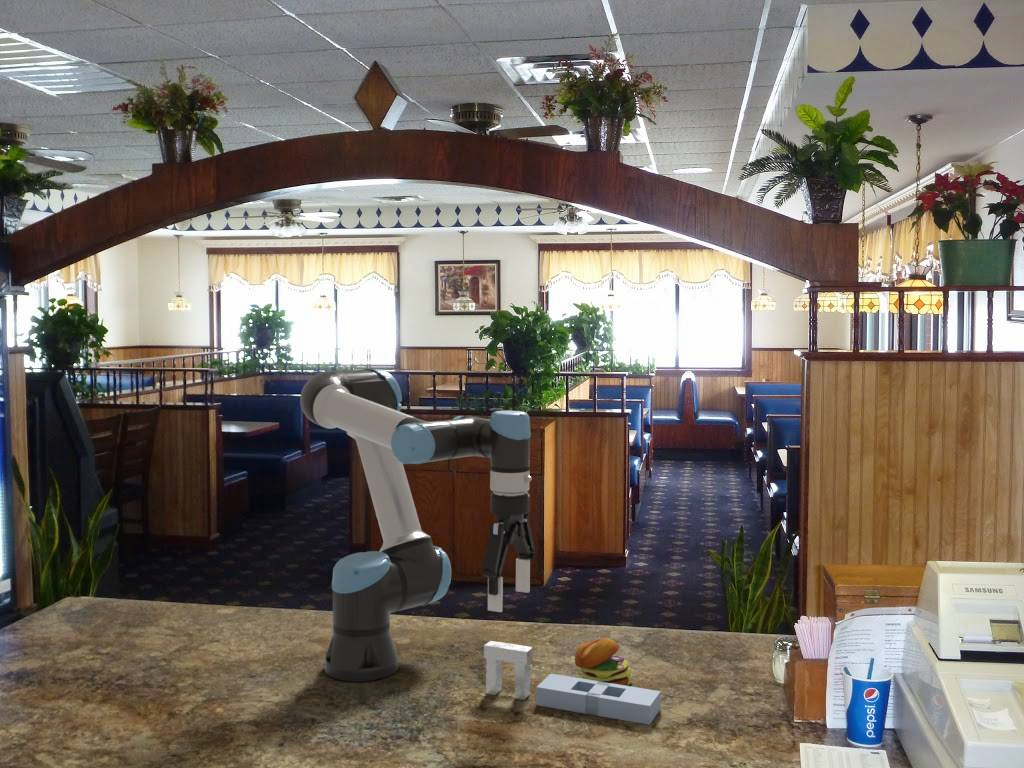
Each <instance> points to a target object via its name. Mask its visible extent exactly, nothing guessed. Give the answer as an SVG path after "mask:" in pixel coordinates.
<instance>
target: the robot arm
mask: <svg viewBox="0 0 1024 768" xmlns="http://www.w3.org/2000/svg"><path fill="white" fill-rule="evenodd" d="M402 399H403V396H402V391H401V387H400V386H399V383H398V382H397V380H396V379H395V377H394V376H393V375H392V374H391V373H390V372H388V371H386V370H384V369H380V368H377V369H376V368H375V369H374V368H369V367H366V368H363V369H361V368H360V369H348V370H347V369H346V370H327V371H326V370H325V371H322V372H320V373H317V374H315V375H314V376H312V377H311V378H310V379H308V381H307V382H305V384H304V386H302V390H301V393H300V398H299V400H300V401H299V402H300V408H301V410H302V412H303V414H304V415H305V418H307V419H308V420H309V421H310V422H312V423H313V424H316V425H318V426H319V427H322V428H325V429H330V430H331V429H336V428H338V429H340V430H342V431H345V433H346V435H348V436H349V437H351V438H352V439H354V440H355V443H356V446H357V449H358V454H359V456H360V459H361V463H362V467H363V471H364V475H365V479H366V482H367V485H368V489H369V494H370V497H371V501H372V505H373V508H374V511H375V516H376V519H377V522H378V526H379V529H380V534H381V537H382V540H383V541H382V542H383V543H382V545H381V548H380V549H379V551H377V550H376V551H375V550H370V551H366V552H363V551H362V552H355V553H352V554H348V555H347V556H344V557H342V558H341V559H339V560H338V561H337V562H336V563H335V564H334V567H333V569H332V580H331V589H332V635H331V639H330V642H329V645H328V647H327V651H326V654H325V658H324V672H325V674H326V675H327V676H328V677H330V678H333V679H334V680H335V679H336V680H340V681H345V682H371V681H376V680H380V679H383V678H387V677H389V676H391V675H393V674H395V673H396V672H397V671H398V669H399V655H398V652H397V649H396V645H395V642H394V639H393V635H392V634H391V618H390V617H391V616H390V615H391V614H393V613H397V612H401V611H405V610H408V609H412V608H416V607H419V606H421V607H422V606H423V607H424V606H426V605H429V604H431V603H434V602H437V601H439V600H441V599H442V598H443V597H444V596H445V595H446V594H447V592H448V590H449V588H450V584H451V579H452V567H451V561H450V559H449V556H448V554H447V553H446V552H445V551H444V550H443V549H442V547H439V546H436V545H434V544H433V543H434V542H433V540H432V537H431V535H428V533H426V532H424V531H423V530H422V526H421V523H420V521H419V516H418V513H417V512H418V511H417V508H416V506H415V502H414V498H413V495H412V491H411V487H410V483H409V481H408V478H407V477H408V476H407V473H406V470H405V467H404V465H412V464H413V465H421V464H425V463H431V462H438V461H446V460H453V459H461V458H467V457H480V458H487V459H490V470H489V471H490V473H489V474H490V476H489V477H490V478H489V489H490V491H492V492H491V494H490V495H489V496H490V500H489V501H490V502H489V503H490V512H491V513H492V514H495V515H497V520H496V521H497V522H491V523H490V524H489V534H488V539H487V545H486V551H485V557H484V562H483V567H482V572H481V575H482V577H484V578H485V577H487V611H490V612H497V613H502V612H503V611H504V610H503V603H504V599H503V596H504V595H503V593H504V589H503V587H504V586H503V585H504V580H503V579H504V577H503V576H501V575H502V573H503V567H504V566H505V565H504V564H505V562H506V557H507V555H508V550H509V547H511V546H513V548H514V550H515V552H516V555H517V558H516V559H515V592H517V593H518V592H520V593H526V594H527V593H530V591H531V590H530V589H531V581H530V580H531V560H535V558H536V554H535V551H536V549H535V544H534V538H533V534H532V528H531V523H530V509H531V507H530V506H531V504H530V502H531V501H530V500H531V499H530V498H531V495H530V493H529V491H530V482H531V481H532V480H533V479H532V478H533V477H532V476H530V475H531V474H530V469H531V468H530V466H531V465H530V464H531V438H532V437H531V436H532V433H531V421H530V416H529V414H528V413H527V412H525V411H522V410H497V411H493V412H491V415H490V418H485V417H484V418H482V417H477V416H474V415H457V416H454V417H453V418H452V419H448V420H447V419H446V420H445V419H444V420H436V421H426V420H423V419H419V418H417V417H414V416H413V415H410V414H406V413H404V412H402V411H401V409H402V403H401V402H402V401H403V400H402Z"/></svg>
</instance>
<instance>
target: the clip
mask: <svg viewBox="0 0 1024 768" xmlns="http://www.w3.org/2000/svg"><path fill="white" fill-rule="evenodd" d="M483 658H484V659H485V661H486V662H485V663H486V667H485V668H486V669H485V670H486V672H485V674H486V675H485V676H486V677H485V682H486V683H485V687H486V688H485V689H486V690H485V695H486V694H488V695H493V696H496V695H498V694H499V693H500V692H501V691H502V689H503V662H506V663H514V699H516V700H521V701H525V700H526V699H527V698H528V697H529V696H530V695H531V662H532V661H533V659H534V646H529V645H522V644H515V643H506V642H502V641H494V640H489V641H488V642H487V643H485V644H484V645H483Z"/></svg>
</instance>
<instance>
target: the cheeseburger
mask: <svg viewBox="0 0 1024 768" xmlns="http://www.w3.org/2000/svg"><path fill="white" fill-rule="evenodd" d="M619 649H620V645H619V644H618V643H617V642H616V641H615V640H614V639H611V638H609V637H603V638H600V639H595V640H590V641H587V642H584V643H581V644H580V645H579V646H578V647H577V648H576V650H575V654H574V664H575V666H576V667H578V668H580V670H581V673H582V675H583V679H588V680H594V681H600V682H606V683H612V684H619V685H625V686H630V684H631V683H632V681H633V680H634V679H633V674H632V671H631V670H632V669H631V667H630V666H629V664H630V663H629V661H628V660H626V659H625V656H622V655H616V653H617V652H618V651H619Z"/></svg>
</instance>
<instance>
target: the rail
mask: <svg viewBox="0 0 1024 768" xmlns="http://www.w3.org/2000/svg"><path fill="white" fill-rule="evenodd" d="M535 690H536V695H535V696H536V699H535V701H536V706H540V707H545V708H550V709H551V708H552V709H557V710H561V711H562V710H563V711H569V712H575V713H581V714H586V715H591V716H592V715H593V716H597V717H604V718H609V719H615V720H620V721H626V722H631V723H632V722H633V723H637V724H642V725H649V726H650V725H651V723H652V722H653V721H654V719H655V718H656V717H657V715H658V713H659V712H660V710H661V700H662V699H661V695H662V692H661V690H656V689H655V690H654V689H650V688H649V689H647V688H642V687H635V686H631V685H619V684H612V683H606V682H600V681H594V680H588V679H584V678H581V677H574V676H567V675H562V674H555V673H550V674H548V676H546V677H545V679H543V680H542V681H541V682H540V683H539V684H538V685H536V689H535Z"/></svg>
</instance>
